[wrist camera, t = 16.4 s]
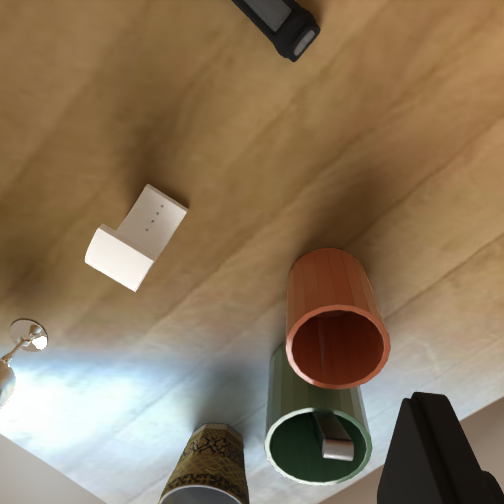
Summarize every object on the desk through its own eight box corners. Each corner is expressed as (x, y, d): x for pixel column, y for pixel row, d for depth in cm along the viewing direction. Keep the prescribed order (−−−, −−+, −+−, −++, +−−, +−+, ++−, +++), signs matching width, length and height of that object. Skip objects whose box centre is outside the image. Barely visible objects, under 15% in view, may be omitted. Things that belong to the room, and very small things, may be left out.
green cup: (362, 339, 47) (382, 414, 37) (346, 407, 51) (360, 492, 41) (274, 328, 47) (269, 401, 37) (265, 397, 51) (259, 478, 41)
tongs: (329, 318, 46) (355, 451, 29) (316, 397, 50) (332, 556, 33) (310, 316, 46) (325, 447, 29) (299, 395, 50) (306, 553, 33)
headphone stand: (188, 209, 43) (154, 261, 32) (159, 254, 45) (118, 318, 34) (148, 183, 42) (98, 227, 31) (120, 230, 44) (65, 287, 33)
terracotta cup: (374, 252, 43) (400, 311, 33) (359, 322, 46) (378, 395, 36) (291, 243, 43) (292, 299, 33) (282, 313, 47) (280, 383, 36)
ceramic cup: (163, 438, 55) (137, 512, 46) (215, 398, 52) (200, 470, 43) (235, 493, 58) (225, 573, 49) (289, 459, 55) (289, 538, 46)
